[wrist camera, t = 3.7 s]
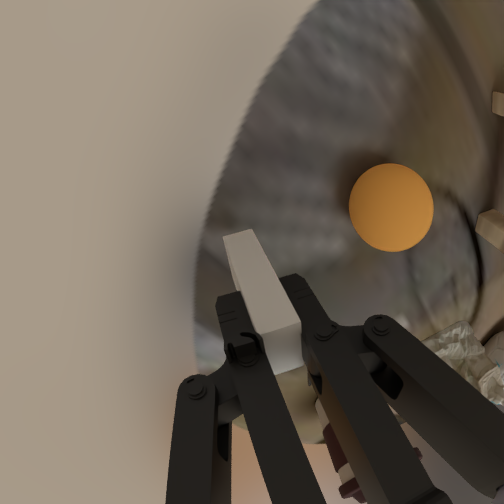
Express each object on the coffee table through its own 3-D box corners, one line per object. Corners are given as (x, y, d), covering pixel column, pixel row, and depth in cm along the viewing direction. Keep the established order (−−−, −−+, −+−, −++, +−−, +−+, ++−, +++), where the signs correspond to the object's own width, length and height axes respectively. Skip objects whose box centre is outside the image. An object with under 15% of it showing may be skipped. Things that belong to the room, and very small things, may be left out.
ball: (400, 147, 19) (456, 176, 14) (396, 216, 22) (442, 254, 17) (332, 158, 18) (383, 193, 14) (334, 233, 21) (375, 280, 17)
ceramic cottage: (408, 342, 33) (471, 437, 22) (480, 307, 37) (535, 376, 26) (370, 400, 42) (411, 475, 31) (440, 366, 46) (480, 426, 35)
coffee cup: (288, 406, 34) (331, 515, 22) (356, 359, 32) (419, 470, 19) (327, 417, 39) (366, 503, 27) (384, 378, 37) (434, 465, 25)
